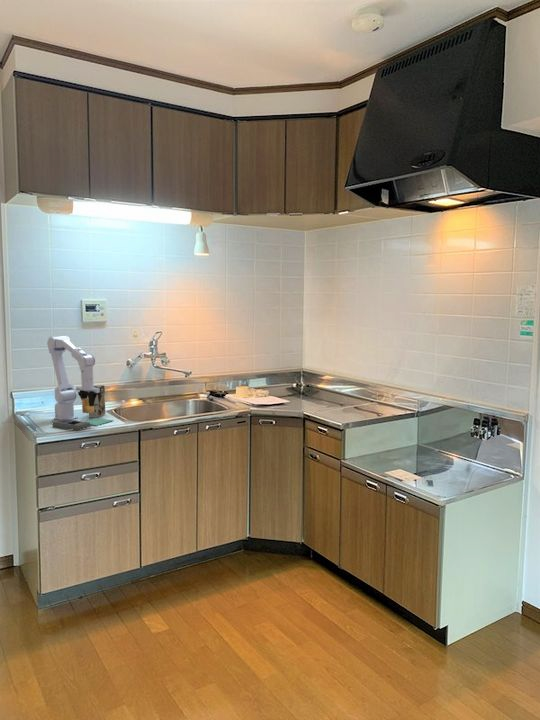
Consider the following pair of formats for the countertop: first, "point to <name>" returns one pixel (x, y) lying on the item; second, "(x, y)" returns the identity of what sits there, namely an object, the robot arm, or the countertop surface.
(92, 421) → the mat
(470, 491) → the countertop surface
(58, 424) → the rail plate
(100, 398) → the coffee box
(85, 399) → the peg
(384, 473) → the countertop surface
